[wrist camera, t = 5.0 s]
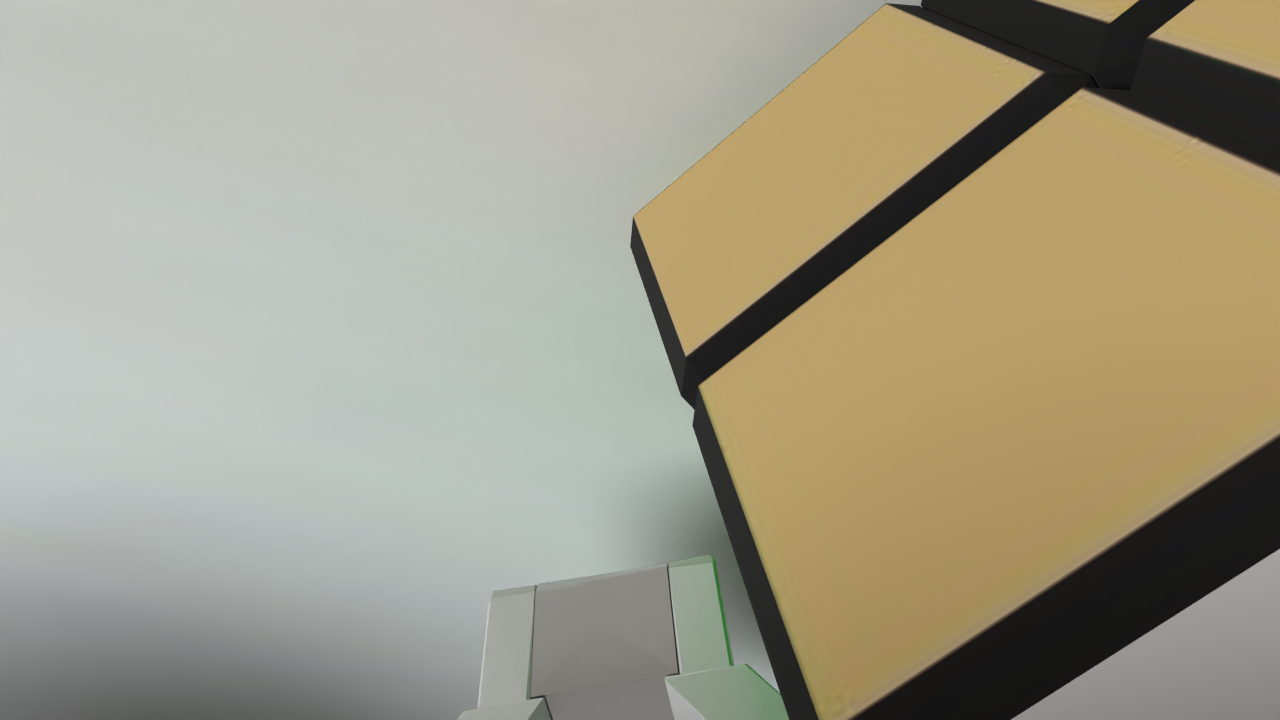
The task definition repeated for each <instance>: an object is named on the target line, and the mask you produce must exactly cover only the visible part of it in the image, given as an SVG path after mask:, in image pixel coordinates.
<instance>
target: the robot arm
mask: <svg viewBox="0 0 1280 720" xmlns="http://www.w3.org/2000/svg"><path fill="white" fill-rule="evenodd" d="M457 720H789V718H788V715H787V712H786V709H785V706H784V703H783V700H782V696H781V694H780V693H779V692H778V691H777V690H775V689H774V688H773V687H772V686H771V685H770V684H769V683H768V682H766V681H765V680H764V679H763V678H762V677H761V676H760V675H758V674H757V673H756V672H755V671H754V670H753V669H752V668H751V667H749V666H748V665H747V664H742V665H736V666H735V665H734V660H733V654H732V649H731V644H730V638H729V633H728V628H727V622H726V617H725V611H724V606H723V601H722V595H721V590H720V584H719V579H718V574H717V568H716V563H715V559H714V557H713V555H712V554H709V555H703V556H698V557H693V558H687V559H682V560H677V561H672V562H669V565H668V563H664V564H658V565H653V566H647V567H642V568H636V569H631V570H625V571H619V572H614V573H608V574H602V575H595V576H588V577H581V578H575V579H568V580H561V581H554V582H547V583H541V584H538V585H535V586H527V587H520V588H513V589H506V590H499V591H494V592H493V594H492V596H491V598H490V600H489V602H488V612H487V621H486V631H485V640H484V650H483V659H482V668H481V678H480V687H479V697H478V706H477V708H476V709H471V710H465V711H463V713H462V714H461V715H460V716H459V718H458V719H457Z"/></svg>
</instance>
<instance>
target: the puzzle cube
mask: <svg viewBox="0 0 1280 720" xmlns="http://www.w3.org/2000/svg"><path fill="white" fill-rule="evenodd" d="M921 6H922V7H923V8H922V7H920V6H912V5H900V4H888V3H886V4H885V5H884V6H882V7H881V8H880V9H879V10H878V11H876V12H875V13H874V14H873V15H872V16H870V17H869V18H868V19H867V20H866V21H864V22H863V23H862V24H861V25H860V26H859V27H857V28H856V29H855V30H854V31H853V32H851V33H850V34H849V35H848V36H847V37H845V38H844V39H843V40H842V41H841V42H840V43H838V44H837V45H836V46H835V47H834V48H832V49H831V50H830V51H829V52H828V53H826V54H825V55H824V56H823V57H822V58H821V59H819V60H818V61H817V62H816V63H815V64H813V65H812V66H811V67H810V68H809V69H807V70H806V71H805V72H804V73H803V74H802V75H800V76H799V77H798V78H797V79H796V80H794V81H793V82H792V83H791V84H790V85H788V86H787V87H786V88H785V89H784V90H783V91H781V92H780V93H779V94H778V95H777V96H775V97H774V98H773V99H772V100H771V101H769V102H768V103H767V104H766V105H765V106H764V107H762V108H761V109H760V110H759V111H758V112H756V113H755V114H754V115H753V116H752V117H750V118H749V119H748V120H747V121H746V122H744V123H743V124H742V125H741V126H740V127H739V128H737V129H736V130H735V131H734V132H733V133H731V134H730V135H729V136H728V137H727V138H725V139H724V140H723V141H722V142H721V143H720V144H718V145H717V146H716V147H715V148H714V149H712V150H711V151H710V152H709V153H708V154H706V155H705V156H704V157H703V158H702V159H701V160H699V161H698V162H697V163H696V164H695V165H693V166H692V167H691V168H690V169H689V170H687V171H686V172H685V173H684V174H683V175H682V176H680V177H679V178H678V179H677V180H676V181H674V182H673V183H672V184H671V185H670V186H668V187H667V188H666V189H665V190H664V191H663V192H661V193H660V194H659V195H658V196H657V197H655V198H654V199H653V200H652V201H651V202H649V203H648V204H647V205H646V206H645V207H644V208H642V209H641V210H640V211H639V212H638V213H636V214H635V215H634V216H633V224H632V235H631V249H632V252H633V255H634V258H635V261H636V264H637V267H638V270H639V273H640V276H641V279H642V282H643V285H644V288H645V291H646V294H647V297H648V299H649V302H650V305H651V308H652V311H653V314H654V317H655V320H656V323H657V326H658V329H659V332H660V335H661V338H662V341H663V344H664V347H665V350H666V352H667V355H668V358H669V361H670V364H671V367H672V370H673V373H674V376H675V379H676V382H677V385H678V388H679V391H680V394H681V396H682V397H683V398H684V399H685V400H686V401H687V402H688V403H689V404H690V405H691V406H692V408H693V409H694V410H695V412H694V419H693V428H694V431H695V434H696V437H697V440H698V443H699V447H700V450H701V453H702V456H703V459H704V462H705V465H706V468H707V471H708V474H709V477H710V480H711V483H712V486H713V489H714V492H715V495H716V498H717V501H718V504H719V507H720V511H721V514H722V517H723V520H724V523H725V526H726V529H727V532H728V535H729V538H730V541H731V544H732V547H733V550H734V553H735V556H736V559H737V562H738V565H739V568H740V571H741V575H742V578H743V581H744V584H745V587H746V590H747V593H748V596H749V599H750V602H751V605H752V608H753V611H754V614H755V617H756V620H757V623H758V626H759V629H760V632H761V636H762V639H763V642H764V645H765V648H766V651H767V654H768V657H769V660H770V663H771V666H772V669H773V672H774V675H775V678H776V681H777V684H778V687H779V690H780V693H781V696H782V700H783V703H784V706H785V709H786V712H787V715H788V718H789V720H1280V0H922V2H921Z"/></svg>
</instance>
